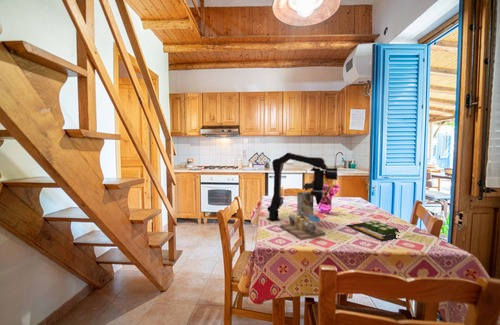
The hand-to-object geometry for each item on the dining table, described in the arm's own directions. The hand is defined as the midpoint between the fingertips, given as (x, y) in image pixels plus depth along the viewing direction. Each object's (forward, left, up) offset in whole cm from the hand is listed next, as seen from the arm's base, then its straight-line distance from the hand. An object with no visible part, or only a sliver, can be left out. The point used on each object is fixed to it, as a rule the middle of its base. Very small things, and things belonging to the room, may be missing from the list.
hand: (317, 204), depth 136 cm
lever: (+9, -14, -4) cm, 17 cm away
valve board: (+3, -14, -13) cm, 19 cm away
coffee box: (-19, +6, -13) cm, 24 cm away
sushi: (+20, +28, -14) cm, 37 cm away
